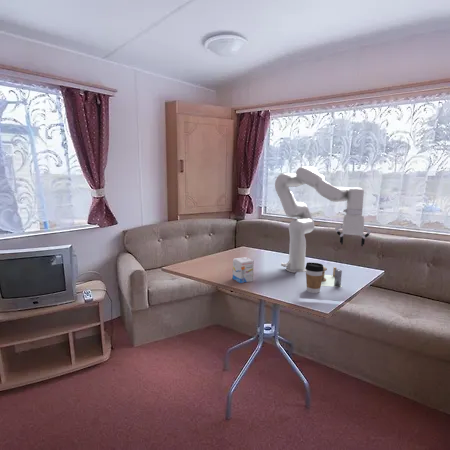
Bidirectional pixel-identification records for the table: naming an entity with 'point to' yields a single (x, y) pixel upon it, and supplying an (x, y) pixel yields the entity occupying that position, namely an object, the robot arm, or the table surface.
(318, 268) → the coffee cup
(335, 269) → the notched rail
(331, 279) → the base board
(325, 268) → the bobbin
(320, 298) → the table surface
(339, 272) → the peg
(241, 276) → the ink box
